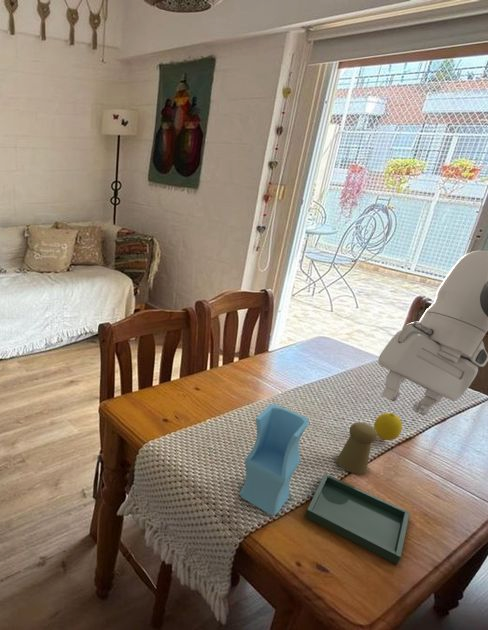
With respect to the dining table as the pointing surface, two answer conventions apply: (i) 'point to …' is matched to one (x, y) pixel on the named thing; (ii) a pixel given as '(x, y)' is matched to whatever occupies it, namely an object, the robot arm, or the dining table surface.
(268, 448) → the blue toy chair
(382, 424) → the lemon
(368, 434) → the pepper mill
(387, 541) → the spice tray
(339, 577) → the dining table surface
